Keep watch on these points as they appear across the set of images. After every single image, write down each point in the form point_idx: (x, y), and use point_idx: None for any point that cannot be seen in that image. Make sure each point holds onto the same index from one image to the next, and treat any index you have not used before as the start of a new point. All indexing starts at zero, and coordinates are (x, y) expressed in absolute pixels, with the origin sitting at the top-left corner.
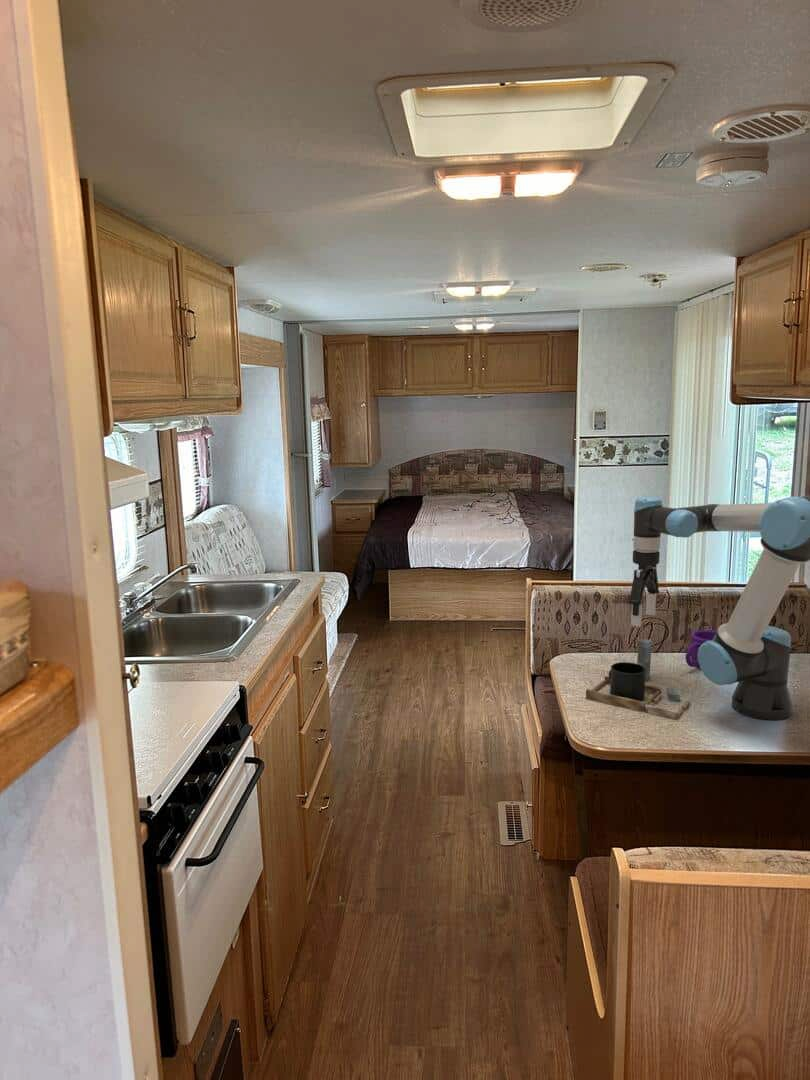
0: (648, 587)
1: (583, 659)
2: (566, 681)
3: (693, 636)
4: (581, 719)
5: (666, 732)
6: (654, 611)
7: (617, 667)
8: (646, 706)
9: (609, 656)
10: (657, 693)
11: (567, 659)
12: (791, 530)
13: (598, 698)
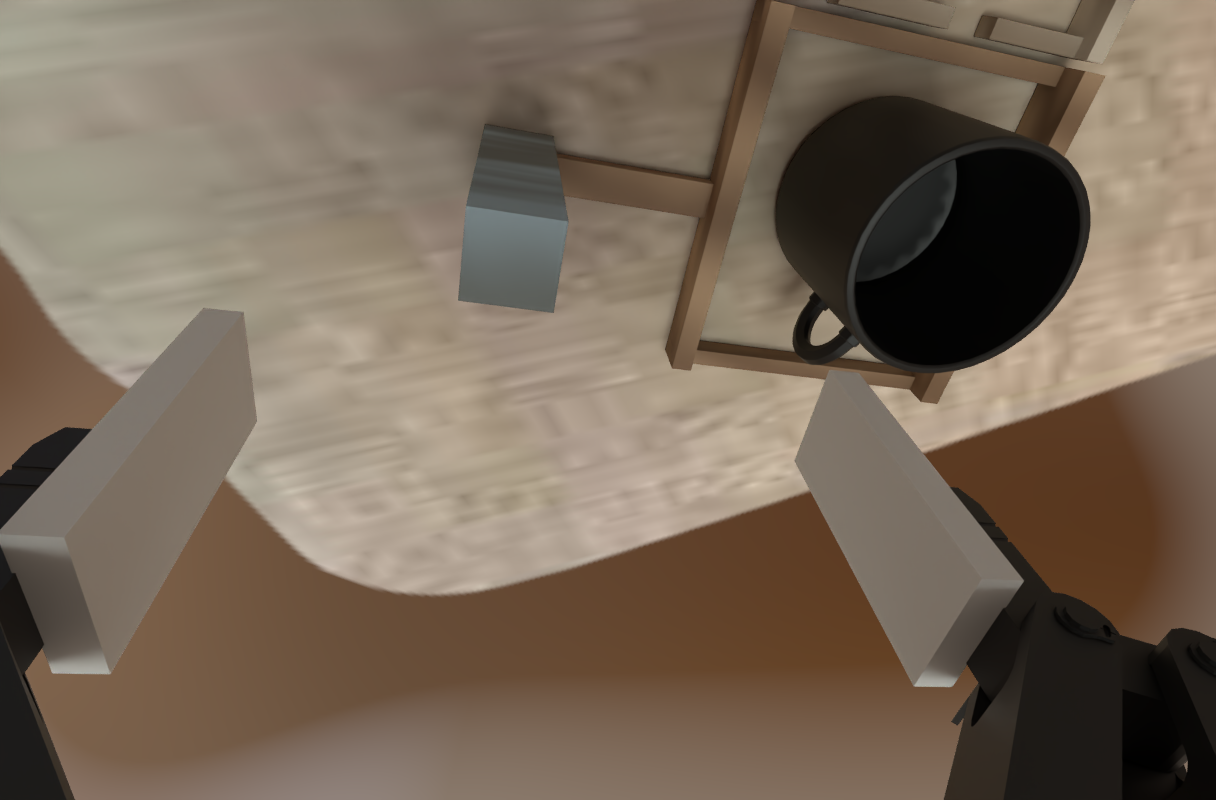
0: (71, 793)
1: (372, 516)
2: (719, 499)
3: None
4: (1160, 338)
5: None
6: (221, 341)
7: (869, 335)
8: (1102, 54)
9: None
10: (831, 19)
11: (418, 571)
12: None
13: None
